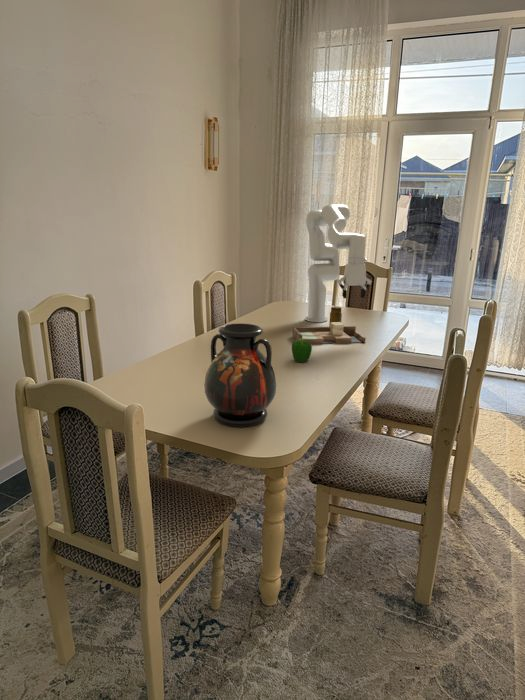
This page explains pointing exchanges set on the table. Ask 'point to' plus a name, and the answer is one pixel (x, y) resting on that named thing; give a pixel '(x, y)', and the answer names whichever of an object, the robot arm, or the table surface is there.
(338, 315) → the condiment
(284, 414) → the table surface
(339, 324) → the birch block
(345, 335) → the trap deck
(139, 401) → the table surface
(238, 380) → the amphora vase
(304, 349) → the bell pepper
